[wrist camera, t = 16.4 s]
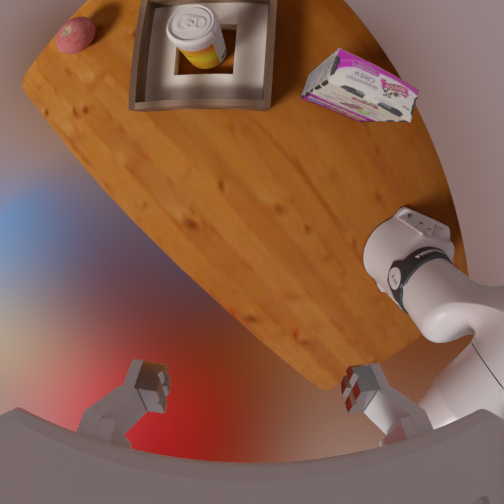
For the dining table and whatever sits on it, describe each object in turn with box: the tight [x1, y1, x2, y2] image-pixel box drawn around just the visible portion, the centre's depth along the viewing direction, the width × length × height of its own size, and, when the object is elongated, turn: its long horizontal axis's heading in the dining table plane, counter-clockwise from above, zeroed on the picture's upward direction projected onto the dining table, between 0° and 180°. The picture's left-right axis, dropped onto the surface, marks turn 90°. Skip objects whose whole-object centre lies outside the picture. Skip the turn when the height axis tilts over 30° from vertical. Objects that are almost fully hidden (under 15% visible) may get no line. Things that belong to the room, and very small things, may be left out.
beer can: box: [166, 4, 226, 69], centre depth 27 cm, size 6×6×15 cm
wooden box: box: [129, 0, 277, 112], centre depth 31 cm, size 20×20×7 cm
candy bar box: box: [301, 48, 419, 122], centre depth 30 cm, size 11×5×16 cm, turn 74°
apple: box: [56, 17, 96, 54], centre depth 26 cm, size 7×7×8 cm
